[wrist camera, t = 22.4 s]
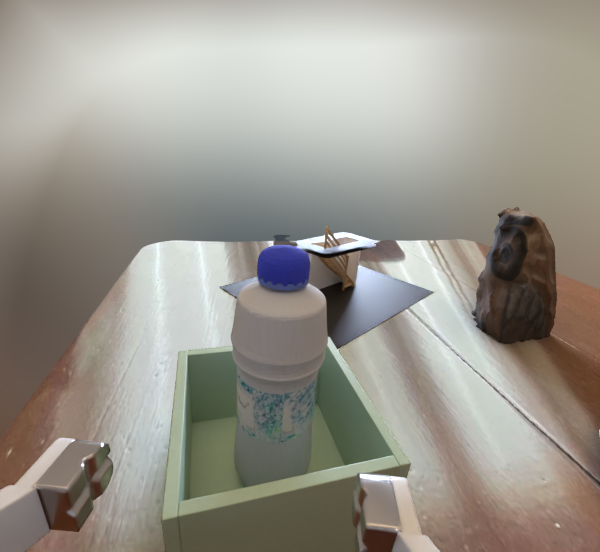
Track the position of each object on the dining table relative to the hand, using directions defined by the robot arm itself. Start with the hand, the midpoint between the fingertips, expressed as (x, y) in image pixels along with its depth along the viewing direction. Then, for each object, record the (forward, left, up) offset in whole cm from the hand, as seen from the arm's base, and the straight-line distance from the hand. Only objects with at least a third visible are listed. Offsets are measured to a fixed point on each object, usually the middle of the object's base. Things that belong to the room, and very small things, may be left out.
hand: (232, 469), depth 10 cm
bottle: (+4, +11, -16) cm, 20 cm away
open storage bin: (+4, +11, -17) cm, 21 cm away
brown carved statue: (+50, +29, -17) cm, 61 cm away
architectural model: (+24, +48, -17) cm, 57 cm away
